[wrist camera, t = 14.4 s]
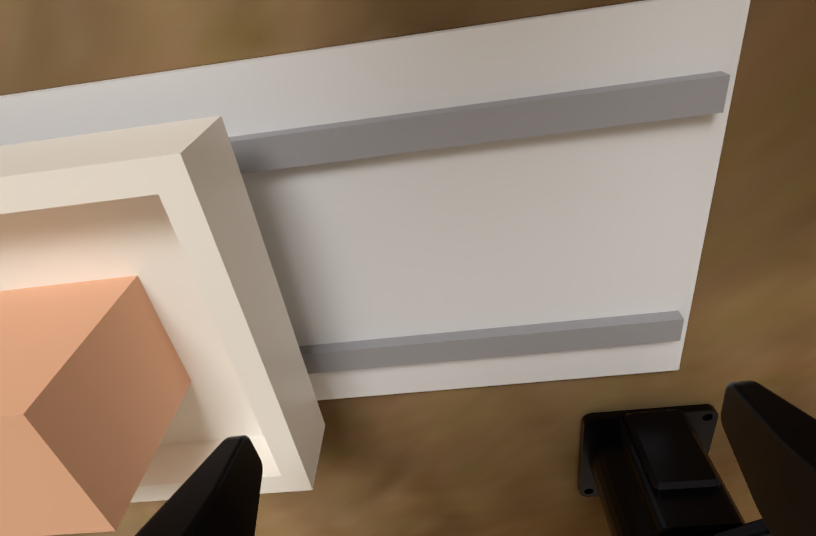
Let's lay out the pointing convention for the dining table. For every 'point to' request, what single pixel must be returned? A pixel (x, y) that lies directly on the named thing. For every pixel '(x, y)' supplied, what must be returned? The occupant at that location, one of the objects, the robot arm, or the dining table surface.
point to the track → (465, 187)
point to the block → (80, 403)
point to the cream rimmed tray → (172, 281)
